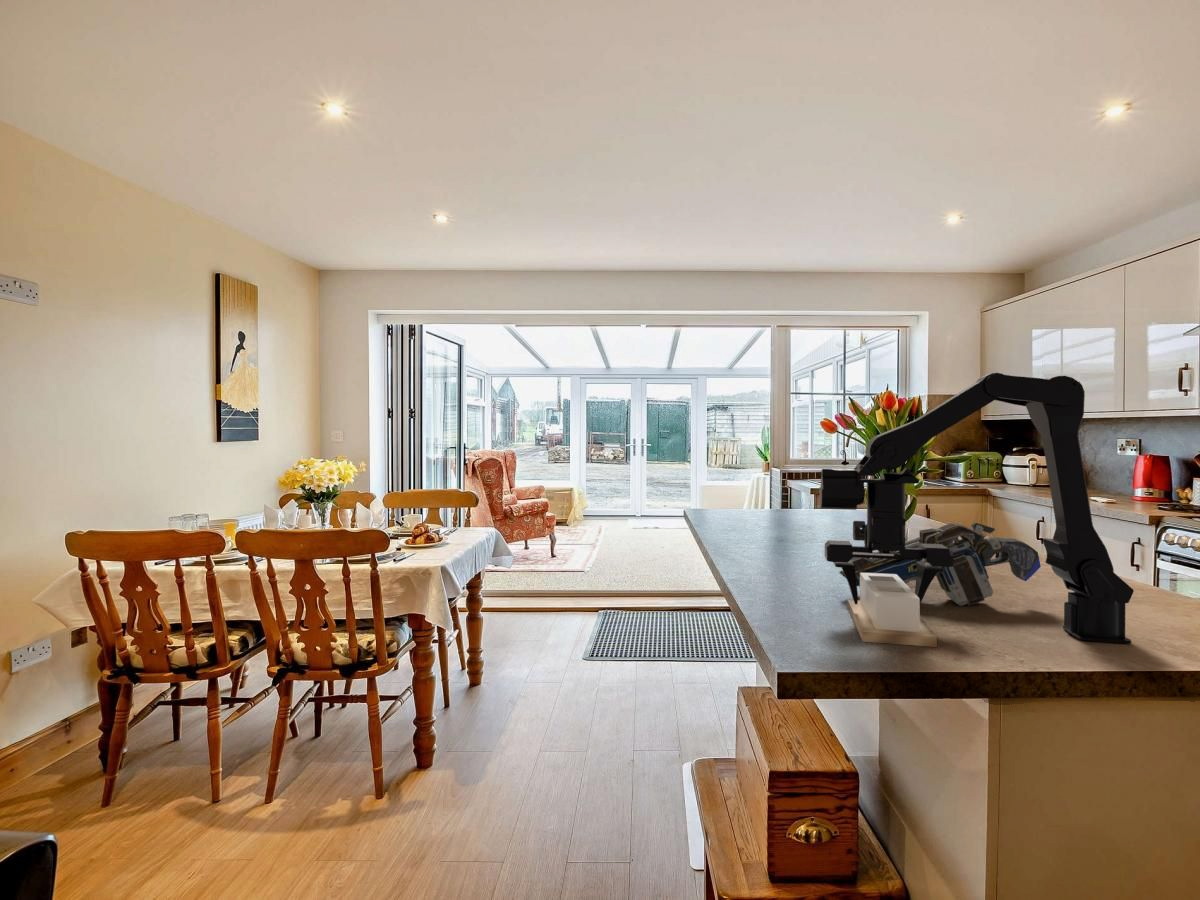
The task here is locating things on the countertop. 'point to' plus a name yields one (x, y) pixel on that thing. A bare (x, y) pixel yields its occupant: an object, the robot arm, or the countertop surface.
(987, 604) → the countertop surface
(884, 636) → the mounting board
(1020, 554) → the firearm
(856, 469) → the robot arm
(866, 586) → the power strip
